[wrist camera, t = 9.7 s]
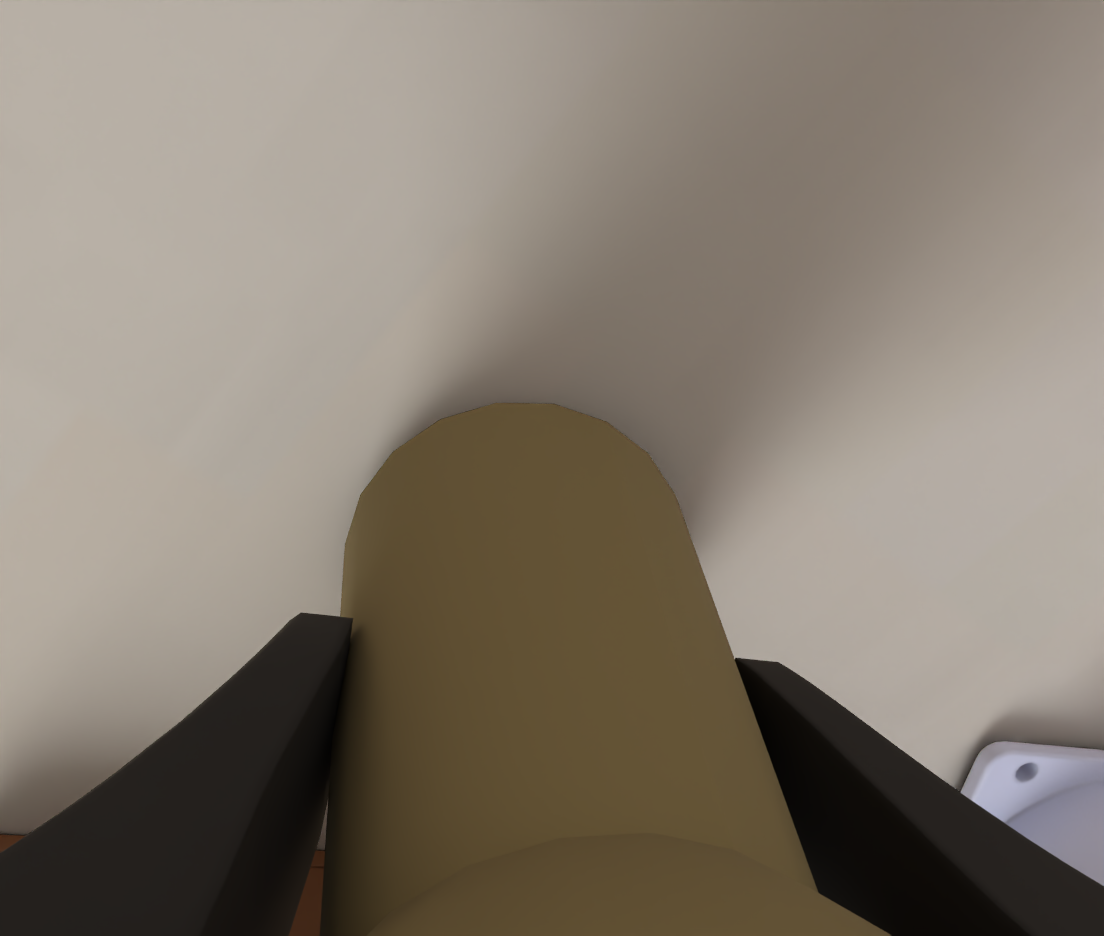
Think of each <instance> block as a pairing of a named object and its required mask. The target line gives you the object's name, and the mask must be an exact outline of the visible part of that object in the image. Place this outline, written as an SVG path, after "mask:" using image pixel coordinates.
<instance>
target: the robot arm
mask: <svg viewBox="0 0 1104 936" xmlns="http://www.w3.org/2000/svg"><path fill="white" fill-rule="evenodd" d="M352 623H353V618H347V617H338V616H328V615H319V614H309V613H300V614H299V615H297V616H296V617H294V618H293V619H291V620H290V621H289V622H288V623H287V624H286V625H285V626H284V627H283V628H282V629H281V630H280V631H279V632H278V633H277V634H276V635H275V636H274V637H273V638H272V639H271V640H270V641H269V642H268V643H267V644H266V645H265V646H264V647H263V648H262V649H261V650H260V651H259V652H258V653H257V654H256V655H255V656H254V657H253V658H252V659H251V660H250V661H248V662H247V663H246V664H245V665H244V666H243V667H242V668H241V669H240V670H239V671H238V672H237V673H236V674H235V675H233V676H232V677H231V678H230V679H229V680H228V681H227V682H226V683H224V684H223V685H222V686H221V687H220V688H219V689H218V690H216V691H215V692H214V693H213V694H212V695H211V696H210V697H208V698H207V699H206V700H205V701H204V702H203V703H202V704H200V705H199V706H198V707H197V708H196V709H195V710H194V711H192V712H191V713H190V714H189V715H188V716H187V717H185V718H184V719H183V720H182V721H181V722H179V723H178V724H177V725H176V726H174V727H173V728H172V729H171V730H169V731H168V732H167V733H166V734H164V735H163V736H162V737H160V738H159V739H158V740H157V741H155V742H154V743H153V744H152V745H150V746H149V747H148V748H146V749H145V750H144V751H143V752H141V753H140V754H139V755H138V756H136V757H135V758H134V759H132V760H131V761H130V762H129V763H127V764H126V765H125V766H124V767H122V768H121V769H120V770H118V771H117V772H116V773H115V774H113V775H112V776H111V777H109V778H108V779H106V780H105V781H104V782H102V783H101V784H100V785H98V786H97V787H95V788H94V789H93V790H91V791H90V792H89V793H87V794H86V795H84V796H83V797H82V798H80V799H79V800H78V801H76V802H75V803H73V804H72V805H70V806H69V807H68V808H66V809H65V810H63V811H62V812H60V813H59V814H58V815H56V816H55V817H53V818H52V819H50V820H49V821H47V822H46V823H44V824H43V825H41V826H40V827H38V828H37V829H35V830H34V831H32V832H31V833H29V834H28V835H26V836H25V837H23V838H22V839H20V840H19V841H17V842H16V843H14V844H13V845H11V846H10V847H8V848H7V849H5V850H4V851H2V852H1V853H0V936H289V933H290V930H291V927H292V924H293V921H294V917H295V914H296V911H297V908H298V905H299V902H300V899H301V895H302V892H303V889H304V886H305V883H306V880H307V876H308V873H309V870H310V867H311V864H312V861H313V857H314V854H315V851H316V848H317V845H318V841H319V838H320V834H321V829H322V825H323V820H324V815H325V810H326V806H327V801H328V796H329V782H330V767H331V751H332V736H333V731H334V726H335V721H336V715H337V710H338V705H339V699H340V694H341V689H342V683H343V678H344V673H345V668H346V662H347V657H348V652H349V646H350V640H351V632H352ZM735 662H736V665H737V668H738V671H739V673H740V676H741V679H742V682H743V684H744V687H745V690H746V693H747V696H748V698H749V701H750V704H751V707H752V709H753V712H754V715H755V718H756V721H757V723H758V726H759V729H760V732H761V735H762V737H763V740H764V743H765V746H766V748H767V751H768V754H769V757H770V760H771V762H772V765H773V768H774V771H775V773H776V776H777V779H778V782H779V785H780V787H781V790H782V793H783V796H784V798H785V801H786V804H787V807H788V810H789V812H790V815H791V818H792V821H793V824H794V826H795V829H796V832H797V835H798V837H799V840H800V843H801V846H802V849H803V851H804V854H805V857H806V860H807V862H808V865H809V868H810V871H811V874H812V876H813V879H814V882H815V885H816V887H817V890H818V893H819V894H821V895H823V896H824V897H826V898H828V899H830V900H831V901H833V902H835V903H837V904H838V905H840V906H842V907H844V908H845V909H847V910H849V911H850V912H852V913H854V914H856V915H857V916H859V917H861V918H863V919H864V920H866V921H868V922H870V923H871V924H873V925H875V926H877V927H878V928H880V929H882V930H883V931H885V932H887V933H889V934H890V935H891V936H1104V750H1098V749H1087V748H1076V747H1065V746H1054V745H1043V744H1031V743H1020V742H1009V741H1001V742H994V743H992V744H989V745H987V746H986V747H985V748H983V749H982V750H981V751H980V753H979V754H978V756H977V758H976V760H975V762H974V764H973V766H972V768H971V770H970V773H969V775H968V777H967V779H966V781H965V783H964V786H963V788H962V790H961V792H959V791H957V790H956V789H955V788H953V787H952V786H950V785H949V784H948V783H946V782H945V781H943V780H942V779H941V778H939V777H938V776H936V775H935V774H934V773H932V772H931V771H930V770H928V769H927V768H925V767H924V766H923V765H921V764H920V763H918V762H917V761H916V760H914V759H913V758H912V757H910V756H909V755H908V754H906V753H905V752H904V751H902V750H901V749H899V748H898V747H897V746H895V745H894V744H893V743H891V742H890V741H889V740H887V739H886V738H885V737H883V736H882V735H881V734H879V733H878V732H877V731H875V730H874V729H873V728H871V727H870V726H869V725H867V724H866V723H865V722H863V721H862V720H860V719H859V718H858V717H856V716H855V715H854V714H852V713H851V712H850V711H848V710H847V709H846V708H844V707H843V706H842V705H840V704H839V703H838V702H836V701H835V700H834V699H832V698H831V697H829V696H828V695H827V694H825V693H824V692H822V691H821V690H820V689H818V688H817V687H816V686H814V685H813V684H811V683H810V682H808V681H807V680H805V679H804V678H803V677H801V676H800V675H798V674H796V673H795V672H793V671H792V670H790V669H789V668H787V667H785V666H784V665H782V664H780V663H778V662H770V661H760V660H751V659H741V658H735Z"/></svg>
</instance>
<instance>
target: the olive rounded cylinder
mask: <svg viewBox="0 0 1104 936" xmlns="http://www.w3.org/2000/svg"><path fill="white" fill-rule="evenodd" d="M340 617H347V618H353V623H352V632H351V640H350V646H349V652H348V657H347V662H346V668H345V673H344V678H343V683H342V689H341V694H340V699H339V705H338V710H337V715H336V721H335V726H334V731H333V736H332V751H331V767H330V782H329V797H328V813H327V828H326V843H325V859H324V874H323V889H322V905H321V920H320V935H319V936H891V935H890V934H889V933H887V932H885V931H883V930H882V929H880V928H878V927H877V926H875V925H873V924H871V923H870V922H868V921H866V920H864V919H863V918H861V917H859V916H857V915H856V914H854V913H852V912H850V911H849V910H847V909H845V908H844V907H842V906H840V905H838V904H837V903H835V902H833V901H831V900H830V899H828V898H826V897H824V896H823V895H821V894H819V893H818V890H817V887H816V885H815V882H814V879H813V876H812V874H811V871H810V868H809V865H808V862H807V860H806V857H805V854H804V851H803V849H802V846H801V843H800V840H799V837H798V835H797V832H796V829H795V826H794V824H793V821H792V818H791V815H790V812H789V810H788V807H787V804H786V801H785V798H784V796H783V793H782V790H781V787H780V785H779V782H778V779H777V776H776V773H775V771H774V768H773V765H772V762H771V760H770V757H769V754H768V751H767V748H766V746H765V743H764V740H763V737H762V735H761V732H760V729H759V726H758V723H757V721H756V718H755V715H754V712H753V709H752V707H751V704H750V701H749V698H748V696H747V693H746V690H745V687H744V684H743V682H742V679H741V676H740V673H739V671H738V668H737V665H736V662H735V659H734V657H733V654H732V651H731V648H730V646H729V643H728V640H727V637H726V634H725V632H724V629H723V626H722V623H721V620H720V618H719V615H718V612H717V609H716V607H715V604H714V601H713V598H712V595H711V593H710V590H709V587H708V584H707V582H706V579H705V576H704V573H703V570H702V568H701V565H700V562H699V559H698V557H697V554H696V551H695V548H694V545H693V543H692V540H691V537H690V534H689V532H688V529H687V526H686V523H685V520H684V518H683V515H682V512H681V509H680V506H679V504H678V501H677V498H676V495H675V494H674V492H673V491H672V489H671V488H670V486H669V485H668V483H667V482H666V480H665V478H664V477H663V475H662V474H661V472H660V471H659V469H658V468H657V466H656V465H655V463H654V462H653V460H652V458H651V457H650V455H649V454H648V453H647V452H645V451H644V450H643V449H642V448H640V447H639V446H638V445H636V444H635V443H634V442H632V441H631V440H630V439H628V438H627V437H626V436H625V435H623V434H622V433H621V432H619V431H618V430H617V429H615V428H614V427H613V426H611V425H610V424H609V423H608V422H606V421H603V420H600V419H597V418H594V417H591V416H588V415H585V414H582V413H579V412H576V411H573V410H570V409H567V408H565V407H562V406H559V405H556V404H530V403H494V404H491V405H487V406H484V407H481V408H477V409H474V410H471V411H467V412H464V413H461V414H457V415H454V416H450V417H447V418H444V419H440V420H439V421H437V422H436V423H434V424H433V425H431V426H430V427H428V428H427V429H426V430H424V431H423V432H421V433H420V434H418V435H417V436H415V437H414V438H412V439H411V440H409V441H408V442H407V443H405V444H404V445H402V446H401V447H399V448H398V449H396V450H395V451H393V452H392V454H391V455H390V456H389V458H388V459H387V460H386V462H385V463H384V464H383V466H382V467H381V468H380V470H379V471H378V472H377V474H376V475H375V476H374V478H373V479H372V480H371V482H370V483H369V484H368V486H367V487H366V488H365V490H364V491H363V492H362V494H361V495H360V498H359V501H358V504H357V507H356V511H355V514H354V517H353V520H352V523H351V527H350V530H349V533H348V536H347V539H346V543H345V552H344V568H343V583H342V598H341V613H340Z"/></svg>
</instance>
